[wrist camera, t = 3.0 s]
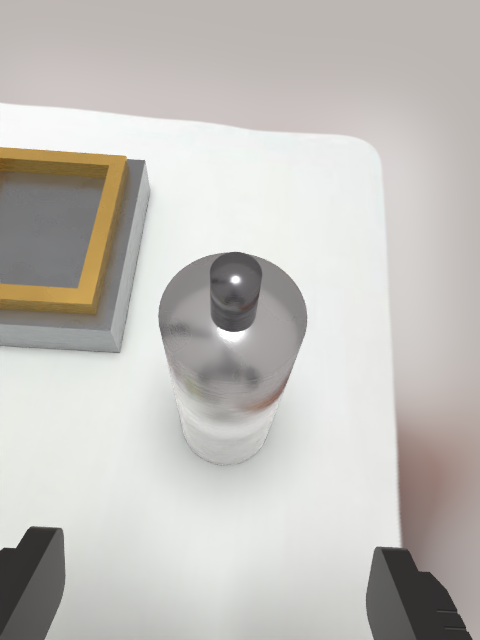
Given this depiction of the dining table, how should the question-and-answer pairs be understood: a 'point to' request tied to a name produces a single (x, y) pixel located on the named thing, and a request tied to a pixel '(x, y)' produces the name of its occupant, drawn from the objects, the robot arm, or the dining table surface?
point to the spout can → (230, 350)
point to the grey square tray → (68, 247)
